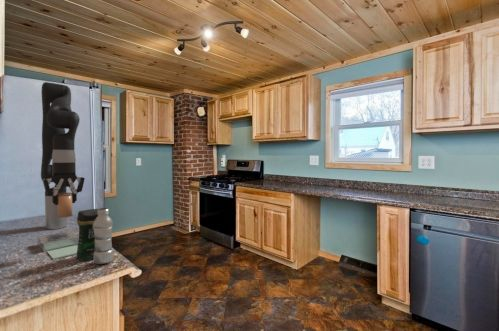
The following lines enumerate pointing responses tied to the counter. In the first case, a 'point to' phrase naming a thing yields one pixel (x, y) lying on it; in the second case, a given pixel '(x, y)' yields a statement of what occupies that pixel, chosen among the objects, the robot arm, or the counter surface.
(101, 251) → the plastic bottle
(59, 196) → the tan rounded cylinder
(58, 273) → the counter surface
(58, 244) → the housing
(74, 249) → the mat
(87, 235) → the coffee jar
